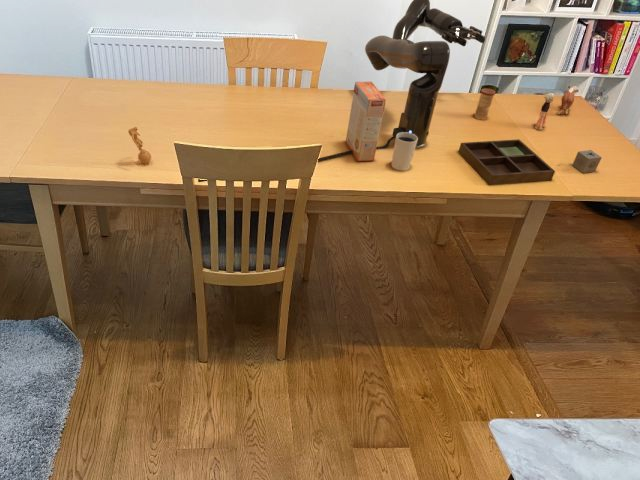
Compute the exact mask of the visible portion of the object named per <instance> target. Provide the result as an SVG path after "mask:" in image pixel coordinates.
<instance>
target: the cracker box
mask: <svg viewBox="0 0 640 480" xmlns="http://www.w3.org/2000/svg"><path fill="white" fill-rule="evenodd" d="M351 99H352V100H351V106H350V111H349V112H350V113H349V118H348V125H347V130H346V136H345V143H346V145H347V147H348V149H350V150H353V153H352V155H353V156H354V157H355V159H356V161H357V162H369V161H370V162H371V161H375V158H376V157H375V156H376V151H377V149H376V147H378V141H379V137H380V132H381V127H382V121H383V117H384V112H385V106H386V101H387V99H386V97H385V96H384V94H383V93H381V91H380V90H379V89H378V88H377V86H376V85H375V84H374V82H373V81H354V88H353V93H352V98H351Z"/></svg>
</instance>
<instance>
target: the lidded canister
mask: <svg viewBox="0 0 640 480" xmlns="http://www.w3.org/2000/svg"><path fill="white" fill-rule="evenodd" d="M494 96H496V91H495V89H492V88H487V87H486V88H481V90H480V96H479V99H478V103H477V106H476V109H475V113H474V116H473V117H474V118H475V119H478V120H480V121H485V120H487V118H488V115H489V113H490V108H491V106H492V102H493V99H494Z"/></svg>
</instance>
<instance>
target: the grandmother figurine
mask: <svg viewBox="0 0 640 480" xmlns="http://www.w3.org/2000/svg"><path fill="white" fill-rule="evenodd" d="M555 97H556V96H555V94H554V93H553V92H548V93H546V94H545V95H544V96H543V98H544V101H545V102H544V103H543V104H542V106H541V109H540V112H539V116H538V117H539V118H538V119H537V121H536V123H535V124H534V129H535V130H538V131H543V127H545V126H546V124H547V119H548V112H549V110H550V108H551V107H550V106H551V104H552V103H553V101H554V98H555Z"/></svg>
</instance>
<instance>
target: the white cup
mask: <svg viewBox="0 0 640 480" xmlns="http://www.w3.org/2000/svg"><path fill="white" fill-rule="evenodd" d="M417 140H418V137H417V136H416V135H414V134H412V133H408V132H401V133H398V134H397V135H396V138H395V139H394V146H393V151H392V159H391V167H392V168H393V169H395V170H398V171H407V170H409V169H410V167H411V163H412V160H413V157H414V154H415V150H416V148H415V147H416V144H417Z"/></svg>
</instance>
